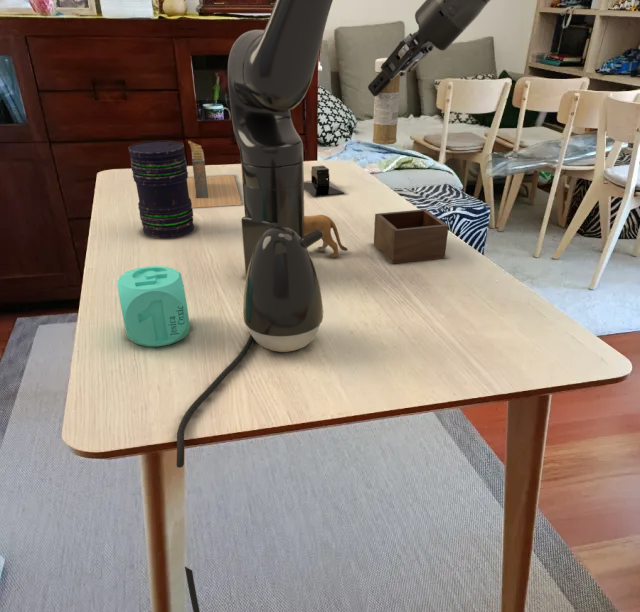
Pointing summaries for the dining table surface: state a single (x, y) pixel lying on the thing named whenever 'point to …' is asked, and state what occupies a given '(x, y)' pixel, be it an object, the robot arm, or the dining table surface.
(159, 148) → the dark barrel
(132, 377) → the dining table surface
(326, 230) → the lion figurine
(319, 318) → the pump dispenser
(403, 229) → the box
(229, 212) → the dining table surface
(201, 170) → the ruin model on sheet
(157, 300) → the decorative dice
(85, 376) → the dining table surface
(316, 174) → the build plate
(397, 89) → the sprinkles bottle
